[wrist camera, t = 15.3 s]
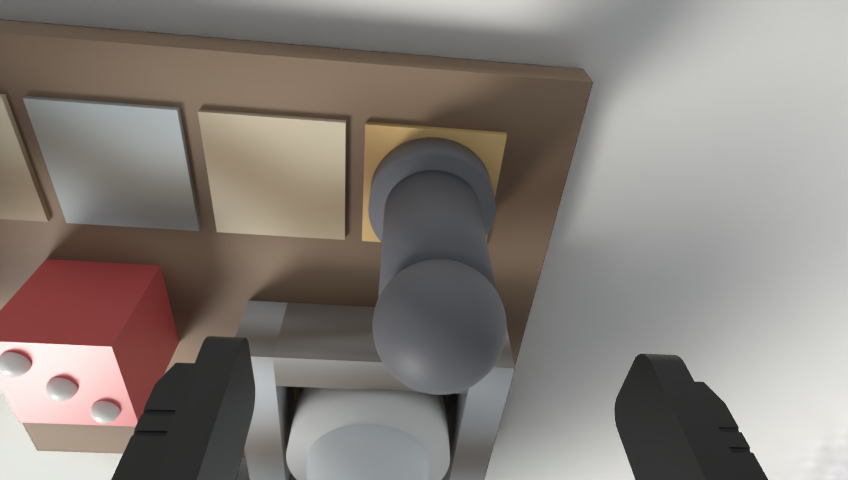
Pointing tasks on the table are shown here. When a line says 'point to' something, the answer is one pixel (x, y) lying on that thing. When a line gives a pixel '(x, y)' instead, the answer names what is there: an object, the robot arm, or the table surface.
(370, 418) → the dome
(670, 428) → the robot arm
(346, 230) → the board
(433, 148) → the pawn
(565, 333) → the table surface
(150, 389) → the die
